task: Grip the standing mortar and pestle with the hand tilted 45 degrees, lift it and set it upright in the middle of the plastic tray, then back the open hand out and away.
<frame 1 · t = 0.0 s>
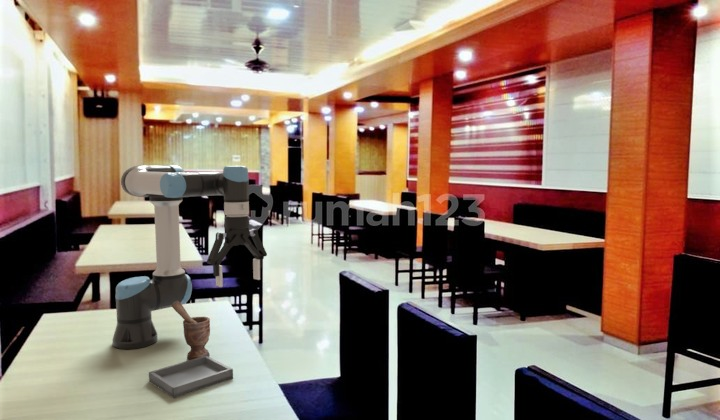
hand: (238, 282, 167), 28 cm above the table, tool pointing down, fingers open, 13 cm apart
mortar and pestle: (193, 359, 178), on the table
tray: (191, 380, 161), on the table
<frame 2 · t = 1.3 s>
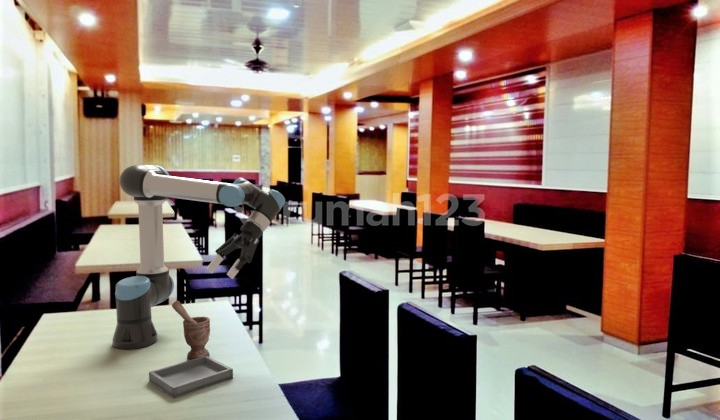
hand: (219, 273, 183), 27 cm above the table, tool tilted 45°, fingers open, 13 cm apart
nothing on the table moved.
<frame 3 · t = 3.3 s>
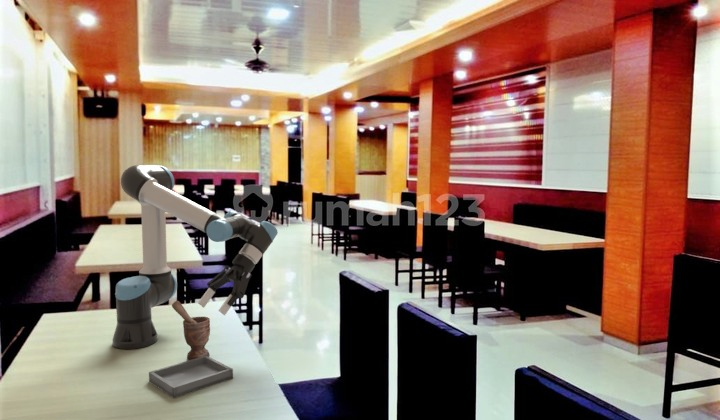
hand: (210, 309, 181), 16 cm above the table, tool tilted 45°, fingers open, 13 cm apart
nothing on the table moved.
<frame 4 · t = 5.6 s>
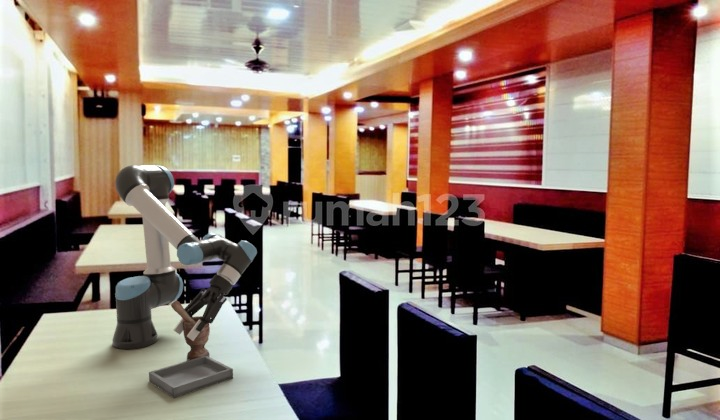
hand: (183, 335, 175), 9 cm above the table, tool tilted 45°, fingers closed on mortar and pestle, 9 cm apart
mortar and pestle: (193, 358, 178), on the table, touching gripper
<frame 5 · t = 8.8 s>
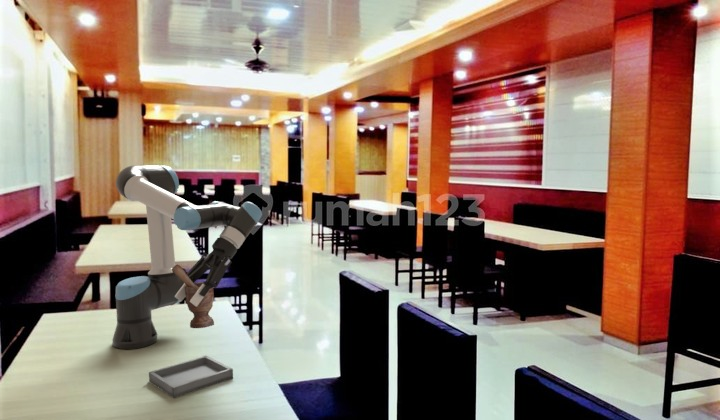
hand: (185, 301, 163), 23 cm above the table, tool tilted 45°, fingers closed on mortar and pestle, 9 cm apart
mortar and pestle: (196, 327, 166), point 14 cm above the table, touching gripper
when the fingers open (11 cm above the table, at t = 11.9 s): mortar and pestle drops 1 cm, resting on tray.
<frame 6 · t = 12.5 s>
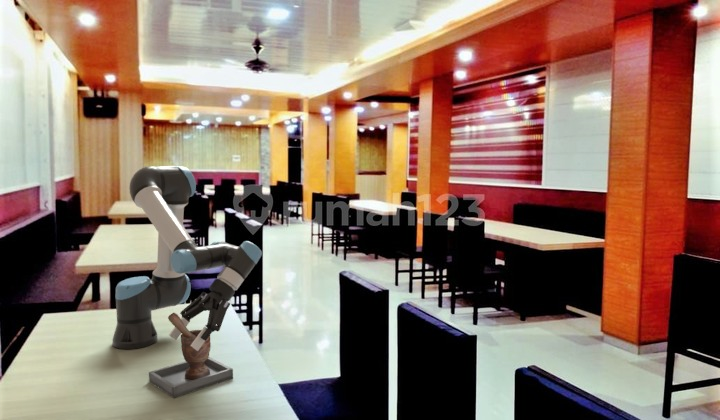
hand: (182, 342, 158), 12 cm above the table, tool tilted 45°, fingers open, 13 cm apart
mortar and pestle: (191, 377, 161), point 1 cm above the table, touching tray
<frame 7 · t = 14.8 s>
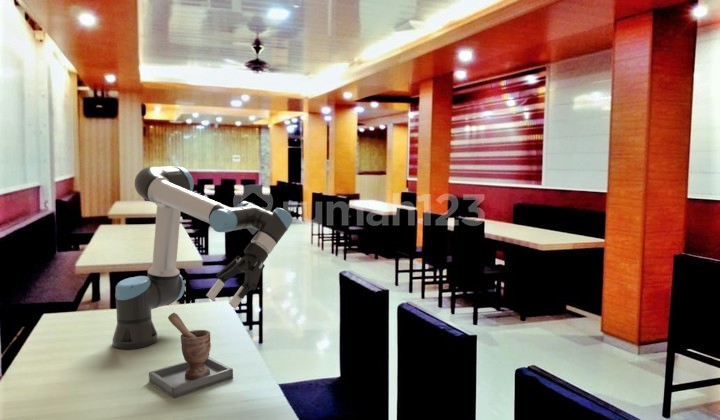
hand: (220, 301, 166), 22 cm above the table, tool tilted 45°, fingers open, 13 cm apart
nothing on the table moved.
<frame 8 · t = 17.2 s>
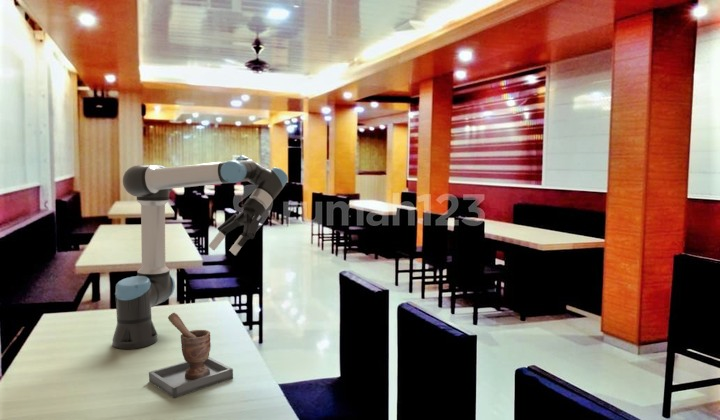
hand: (221, 250, 181), 36 cm above the table, tool tilted 45°, fingers open, 13 cm apart
nothing on the table moved.
at the end: mortar and pestle inside the target area on the tray (0.2 cm from its centre), point 0.8 cm above the tray's base; mortar and pestle tilted 0°; the gripper is holding nothing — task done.
